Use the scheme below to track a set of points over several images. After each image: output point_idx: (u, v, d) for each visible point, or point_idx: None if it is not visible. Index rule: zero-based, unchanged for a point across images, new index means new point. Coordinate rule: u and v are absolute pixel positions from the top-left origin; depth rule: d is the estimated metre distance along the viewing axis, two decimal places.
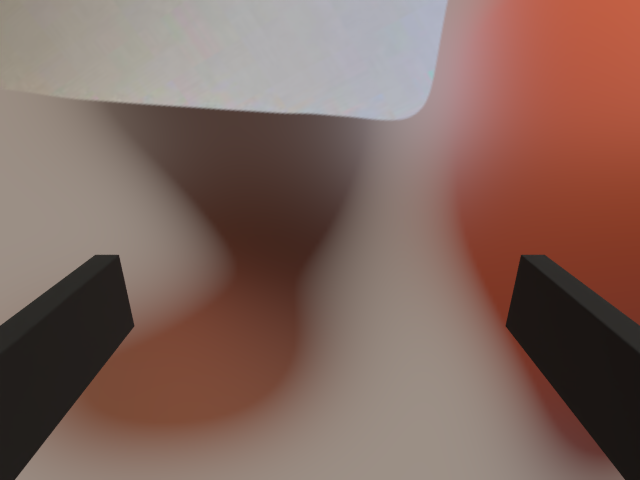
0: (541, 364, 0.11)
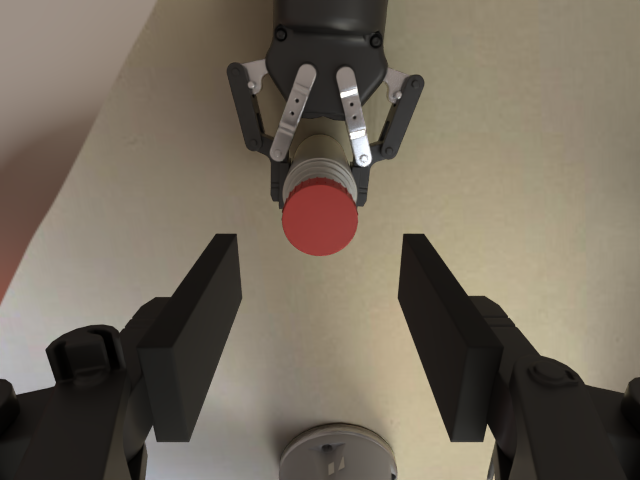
0: (410, 326, 0.13)
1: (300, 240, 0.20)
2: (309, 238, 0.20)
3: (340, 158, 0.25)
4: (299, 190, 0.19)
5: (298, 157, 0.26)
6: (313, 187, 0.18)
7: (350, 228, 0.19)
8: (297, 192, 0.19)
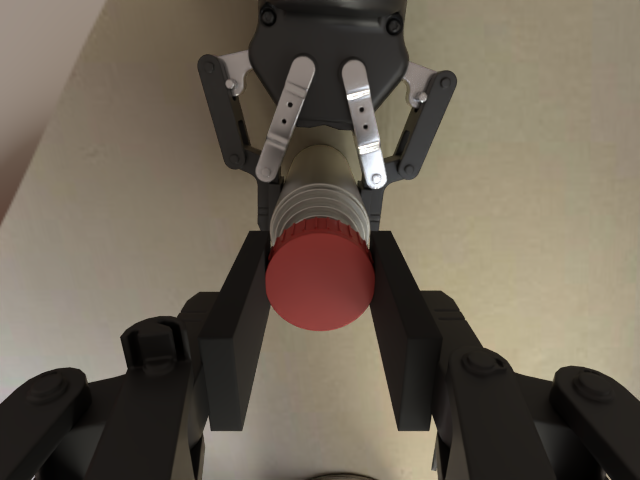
0: (374, 321, 0.13)
1: (291, 310, 0.13)
2: (304, 307, 0.13)
3: (347, 181, 0.19)
4: (289, 240, 0.13)
5: (292, 178, 0.20)
6: (310, 237, 0.12)
7: (364, 294, 0.13)
8: (286, 244, 0.12)
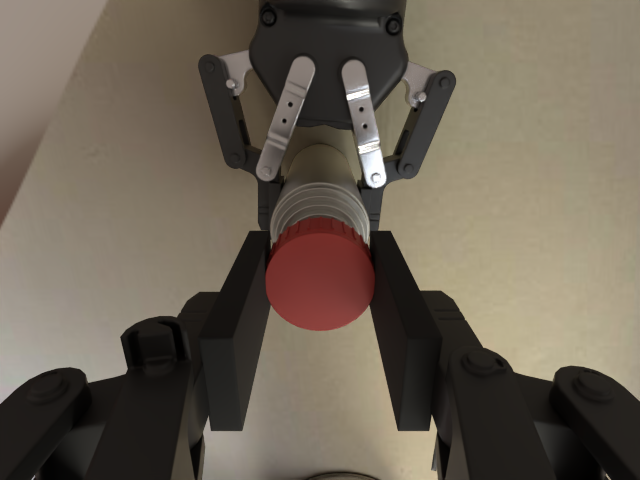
0: (374, 321, 0.13)
1: (361, 286, 0.13)
2: (350, 279, 0.13)
3: (347, 180, 0.19)
4: (305, 327, 0.14)
5: (292, 178, 0.20)
6: (288, 319, 0.14)
7: (297, 246, 0.13)
8: (308, 329, 0.14)
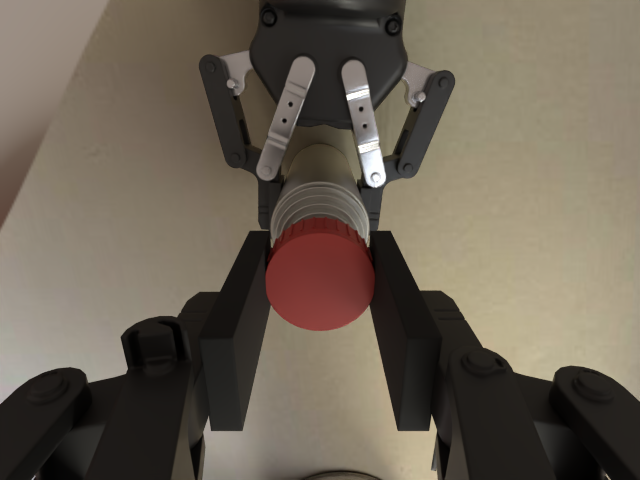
0: (374, 321, 0.13)
1: (293, 254, 0.13)
2: (295, 267, 0.13)
3: (346, 179, 0.19)
4: (370, 262, 0.13)
5: (292, 177, 0.20)
6: (372, 282, 0.13)
7: (304, 321, 0.14)
8: (369, 260, 0.13)
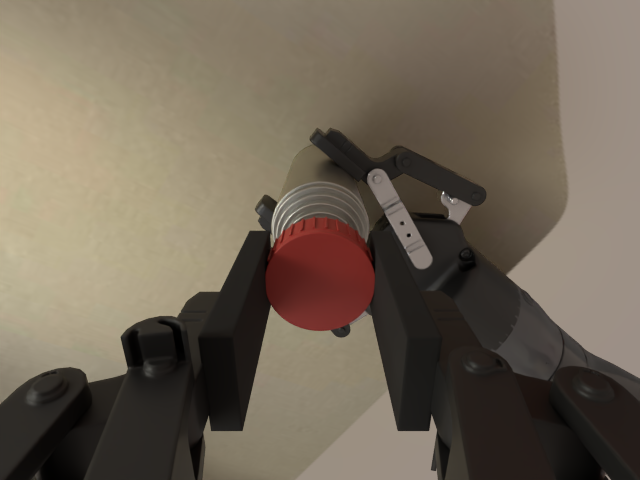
0: (374, 321, 0.13)
1: (293, 254, 0.13)
2: (295, 267, 0.13)
3: None
4: (370, 262, 0.13)
5: None
6: (372, 282, 0.13)
7: (304, 321, 0.14)
8: (369, 260, 0.13)
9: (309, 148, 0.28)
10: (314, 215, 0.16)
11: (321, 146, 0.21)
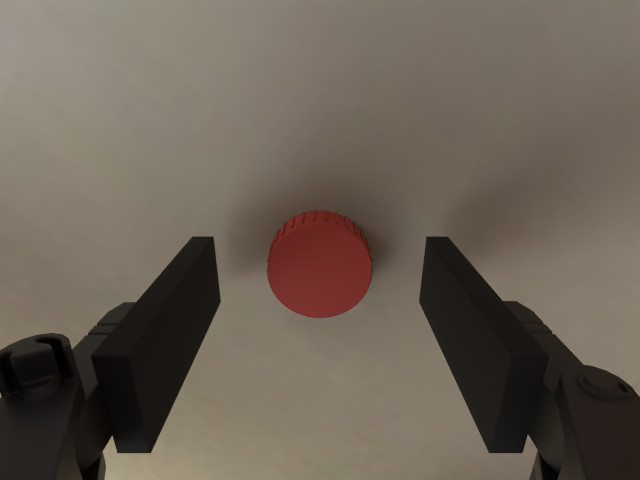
0: (435, 331, 0.12)
1: (294, 245, 0.13)
2: (296, 257, 0.14)
3: None
4: (367, 252, 0.14)
5: None
6: (369, 271, 0.14)
7: (304, 308, 0.14)
8: (365, 250, 0.14)
9: None
10: None
11: None
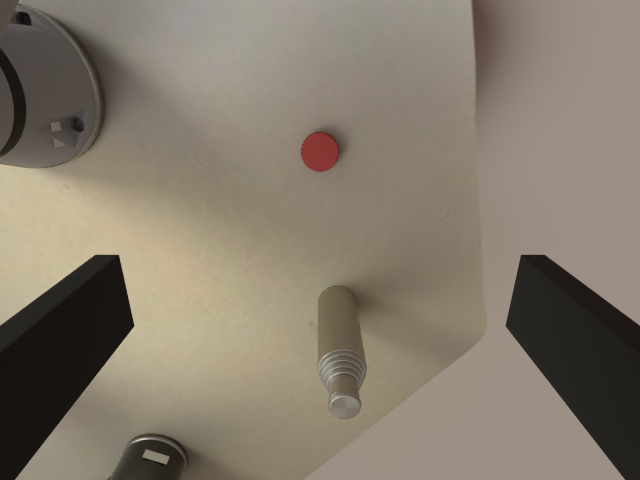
0: (541, 364, 0.11)
1: (311, 141, 0.39)
2: (311, 146, 0.39)
3: None
4: (336, 145, 0.39)
5: None
6: (337, 152, 0.39)
7: (314, 167, 0.40)
8: (335, 144, 0.39)
9: (332, 291, 0.46)
10: (342, 373, 0.34)
11: None
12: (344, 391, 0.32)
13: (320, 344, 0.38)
